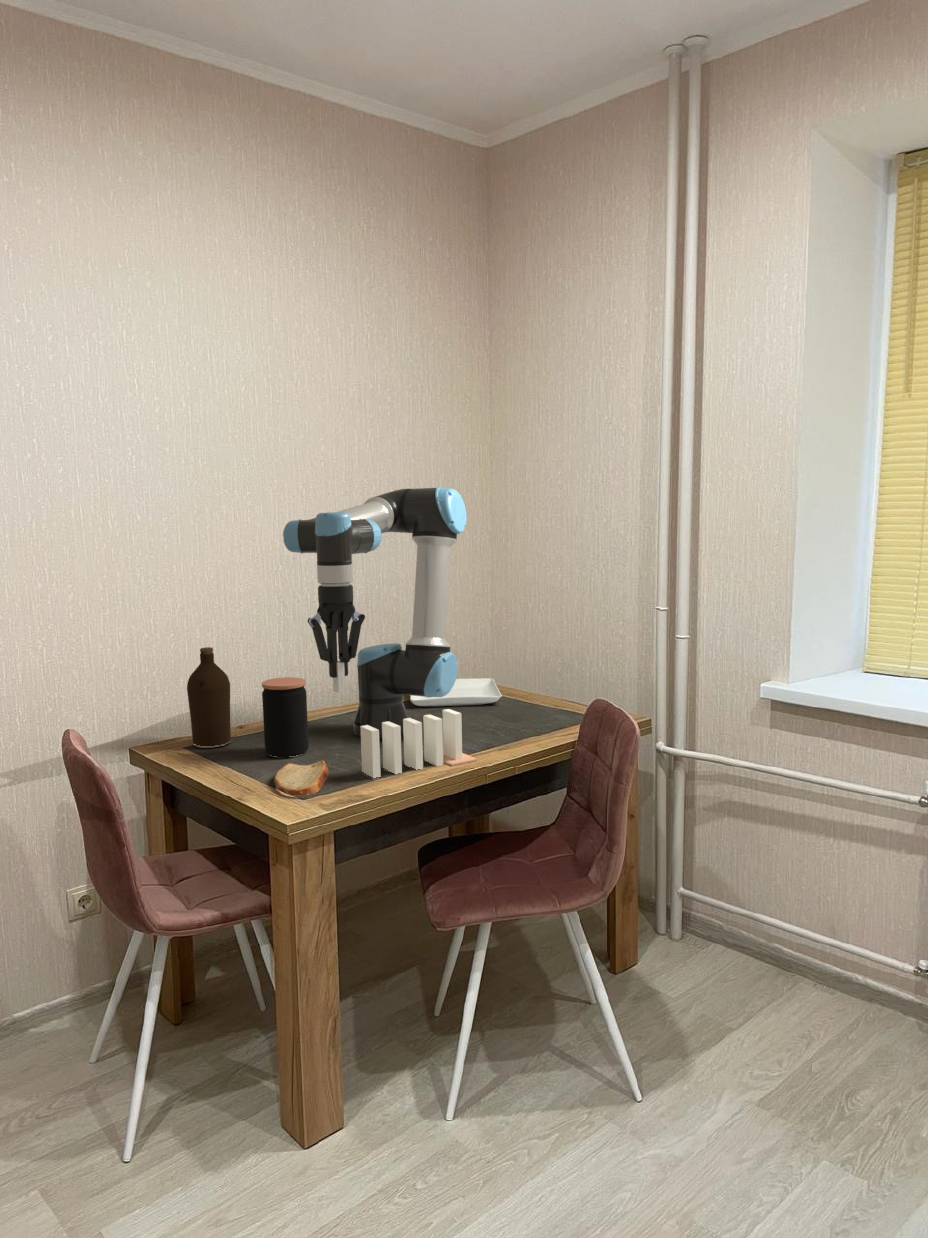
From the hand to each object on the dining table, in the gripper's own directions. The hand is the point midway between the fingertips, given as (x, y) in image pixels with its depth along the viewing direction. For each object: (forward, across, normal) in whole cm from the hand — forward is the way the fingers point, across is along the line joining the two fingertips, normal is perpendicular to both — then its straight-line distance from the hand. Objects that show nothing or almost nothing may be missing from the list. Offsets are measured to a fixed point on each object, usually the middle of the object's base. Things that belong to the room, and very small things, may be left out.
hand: (339, 691), depth 206 cm
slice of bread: (+21, +7, -4) cm, 23 cm away
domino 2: (+20, -12, 0) cm, 24 cm away
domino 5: (+20, -29, 0) cm, 35 cm away
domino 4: (+20, -24, 0) cm, 31 cm away
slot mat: (+20, -29, 0) cm, 35 cm away
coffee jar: (+21, +1, -29) cm, 35 cm away
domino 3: (+20, -18, 0) cm, 27 cm away
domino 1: (+20, -7, 0) cm, 22 cm away
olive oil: (+21, +14, -48) cm, 54 cm away
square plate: (+21, -64, -55) cm, 87 cm away
